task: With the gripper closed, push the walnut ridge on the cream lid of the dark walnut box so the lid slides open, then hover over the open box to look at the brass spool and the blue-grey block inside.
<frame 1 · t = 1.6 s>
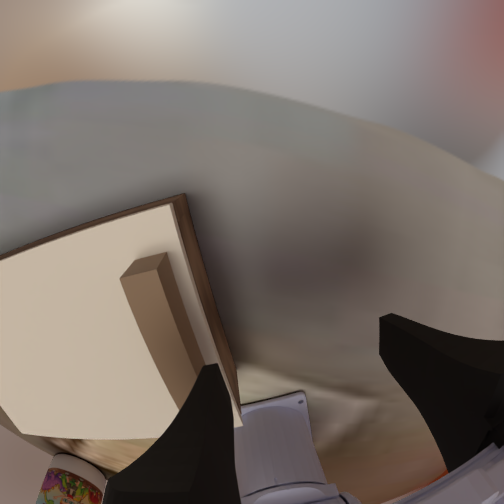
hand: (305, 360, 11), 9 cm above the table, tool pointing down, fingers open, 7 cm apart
milk bottle: (79, 467, 26), on the table
storage box: (89, 319, 20), on the table
lid: (52, 372, 13), point 7 cm above the table, slide at 0.0 cm
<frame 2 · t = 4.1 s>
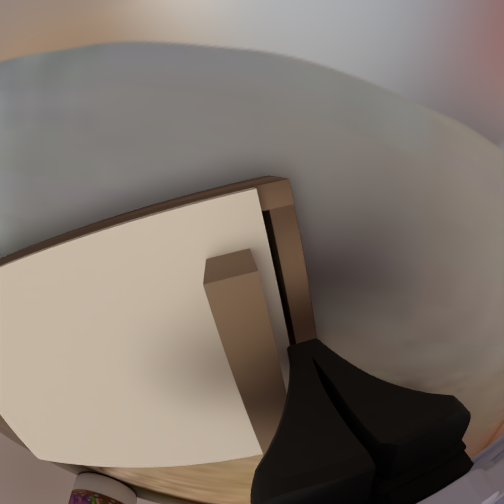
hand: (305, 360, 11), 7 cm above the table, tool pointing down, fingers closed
milk bottle: (107, 485, 23), on the table
storage box: (137, 326, 18), on the table
lid: (83, 400, 11), point 7 cm above the table, slide at 1.4 cm, touching gripper
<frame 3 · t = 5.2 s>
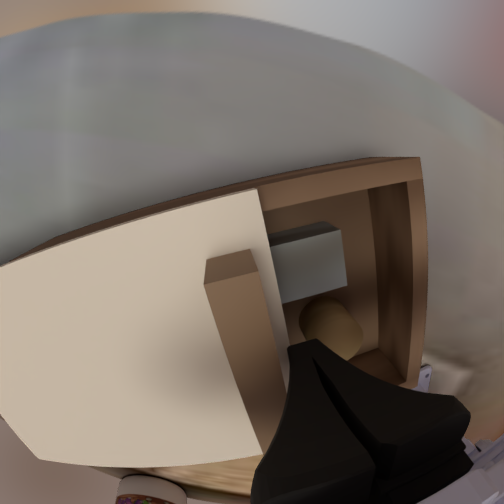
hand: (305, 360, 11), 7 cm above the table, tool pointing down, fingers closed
milk bottle: (153, 487, 24), on the table
storage box: (234, 305, 18), on the table
lid: (83, 400, 11), point 7 cm above the table, slide at 7.9 cm, touching gripper
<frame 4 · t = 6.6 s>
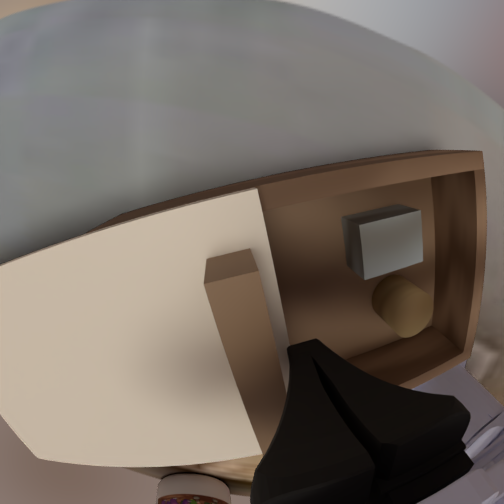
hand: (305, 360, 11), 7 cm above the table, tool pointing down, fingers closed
milk bottle: (193, 486, 24), on the table
storage box: (314, 284, 18), on the table
lid: (83, 399, 11), point 7 cm above the table, slide at 12.9 cm, touching gripper
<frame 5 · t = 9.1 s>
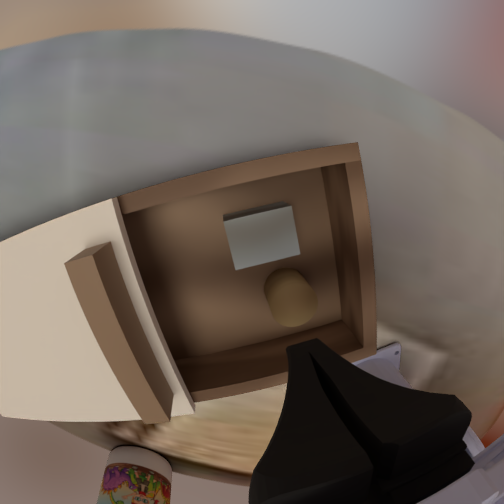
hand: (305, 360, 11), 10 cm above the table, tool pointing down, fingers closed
milk bottle: (140, 460, 27), on the table
storage box: (208, 274, 21), on the table
lid: (21, 353, 14), point 7 cm above the table, slide at 12.9 cm
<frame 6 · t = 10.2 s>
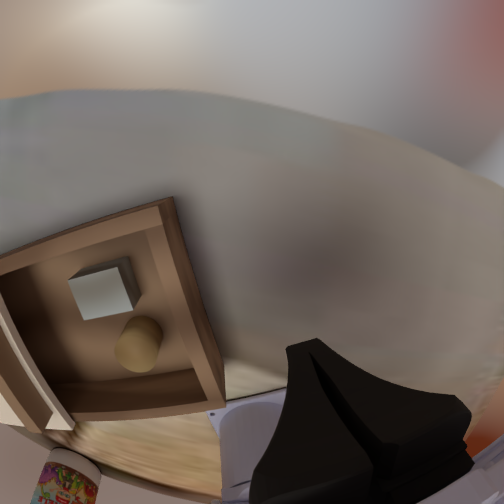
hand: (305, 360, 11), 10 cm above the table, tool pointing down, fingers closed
milk bottle: (76, 462, 26), on the table
storage box: (84, 316, 21), on the table
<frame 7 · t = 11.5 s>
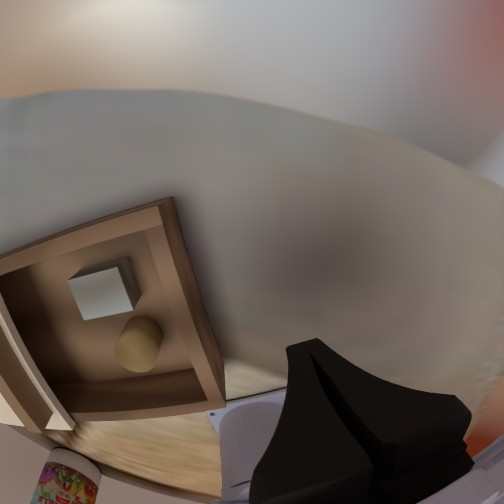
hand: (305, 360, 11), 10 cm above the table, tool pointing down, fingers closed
milk bottle: (76, 462, 26), on the table
storage box: (84, 316, 21), on the table
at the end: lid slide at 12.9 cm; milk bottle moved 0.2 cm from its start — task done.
